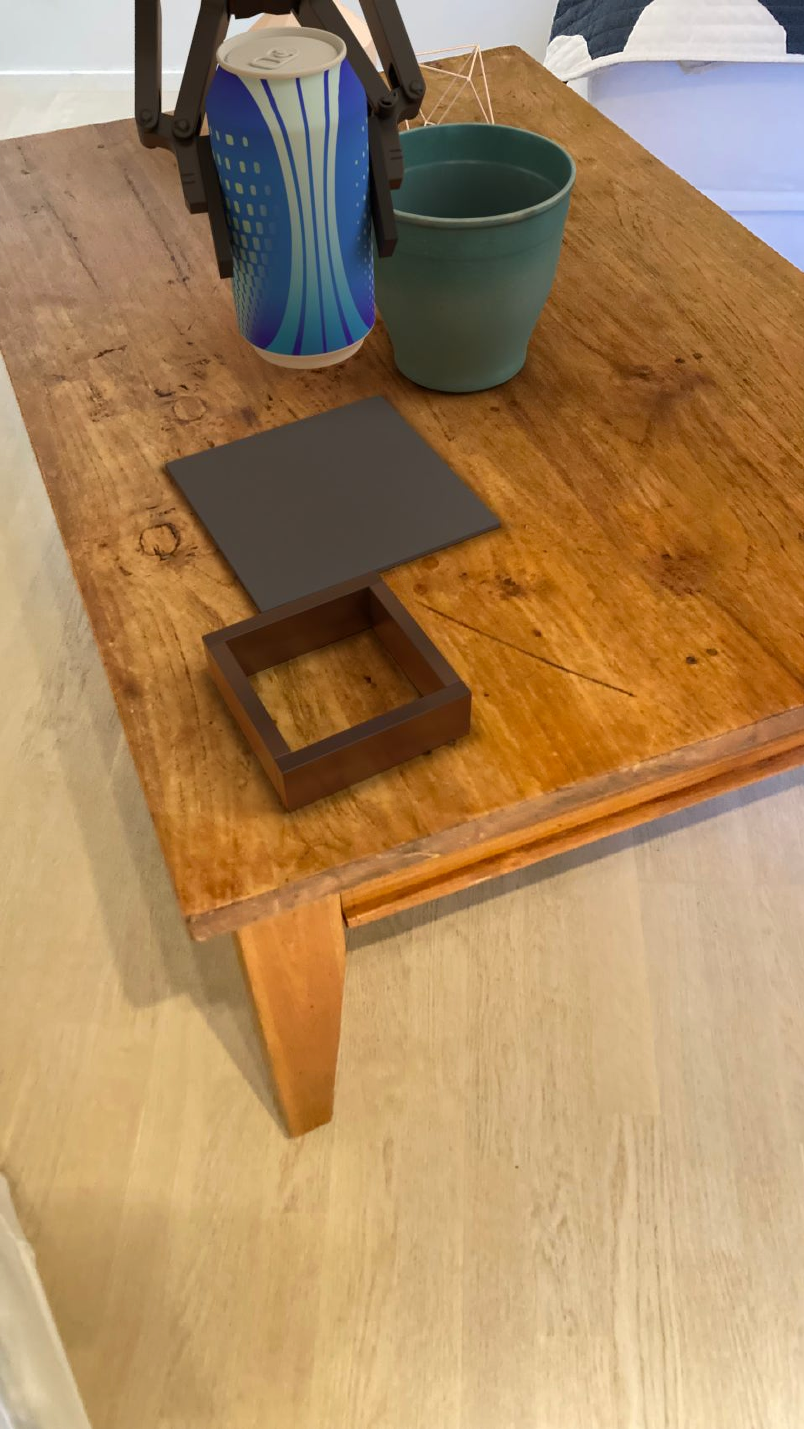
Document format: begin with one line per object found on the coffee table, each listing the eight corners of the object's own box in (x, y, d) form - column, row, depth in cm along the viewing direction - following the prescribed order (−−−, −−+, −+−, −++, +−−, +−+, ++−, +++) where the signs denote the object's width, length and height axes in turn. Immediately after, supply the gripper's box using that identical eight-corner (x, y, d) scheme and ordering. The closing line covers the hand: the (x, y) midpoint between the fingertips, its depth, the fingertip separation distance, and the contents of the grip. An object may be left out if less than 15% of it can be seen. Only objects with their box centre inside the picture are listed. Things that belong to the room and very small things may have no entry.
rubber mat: (165, 468, 87) (164, 463, 87) (380, 398, 93) (380, 393, 93) (263, 617, 76) (262, 612, 75) (500, 527, 81) (501, 522, 81)
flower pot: (351, 416, 91) (338, 219, 78) (365, 308, 103) (356, 121, 90) (561, 418, 91) (583, 219, 78) (551, 309, 102) (569, 120, 89)
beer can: (226, 318, 67) (181, 33, 55) (352, 293, 69) (336, 11, 57) (259, 388, 62) (218, 91, 50) (394, 360, 64) (387, 65, 52)
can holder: (210, 676, 72) (200, 635, 69) (378, 611, 76) (376, 569, 73) (289, 813, 65) (282, 774, 62) (470, 733, 68) (472, 692, 65)
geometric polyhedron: (501, 126, 130) (505, 43, 123) (493, 163, 123) (496, 77, 116) (401, 123, 132) (399, 40, 125) (387, 159, 125) (385, 74, 118)
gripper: (413, -141, 61) (478, 259, 63) (41, -111, 58) (122, 306, 61) (436, -248, 54) (509, 208, 56) (11, -219, 51) (105, 260, 53)
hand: (308, 259), depth 58 cm, fingers closed on beer can, 8 cm apart
